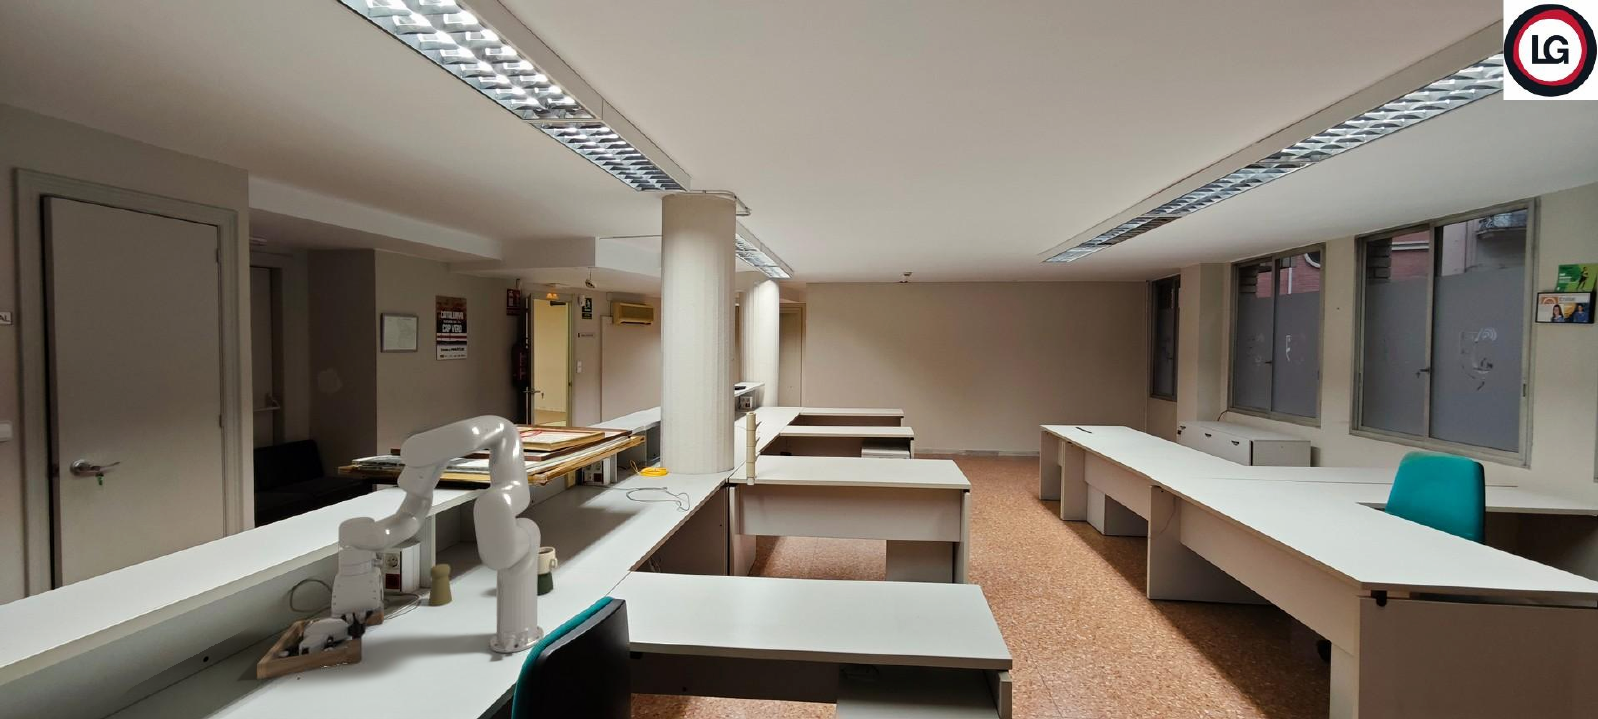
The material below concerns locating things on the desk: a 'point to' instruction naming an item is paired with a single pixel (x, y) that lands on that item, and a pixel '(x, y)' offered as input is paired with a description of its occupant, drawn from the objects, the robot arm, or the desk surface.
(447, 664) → the desk surface
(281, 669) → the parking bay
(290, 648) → the robot toy
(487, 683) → the desk surface
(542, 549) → the character mug
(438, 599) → the cork
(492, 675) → the desk surface
